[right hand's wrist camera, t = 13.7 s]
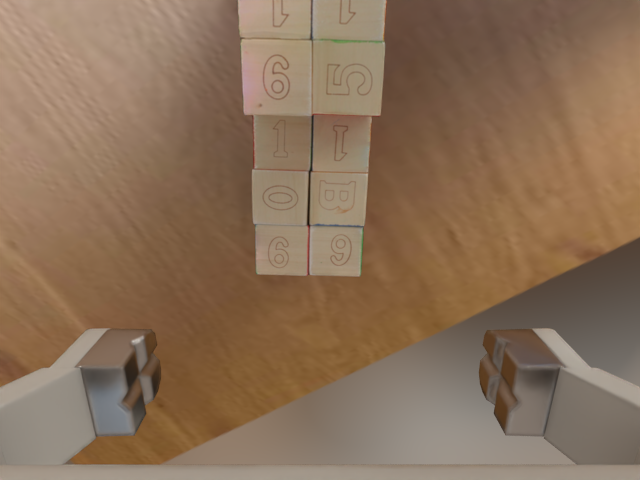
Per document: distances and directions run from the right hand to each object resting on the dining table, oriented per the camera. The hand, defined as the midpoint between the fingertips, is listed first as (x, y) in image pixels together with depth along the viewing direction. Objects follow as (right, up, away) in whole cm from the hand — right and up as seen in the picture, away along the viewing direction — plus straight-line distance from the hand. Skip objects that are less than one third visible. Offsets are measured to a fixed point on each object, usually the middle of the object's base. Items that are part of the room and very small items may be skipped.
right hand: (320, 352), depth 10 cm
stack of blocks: (0, +14, +19) cm, 23 cm away
